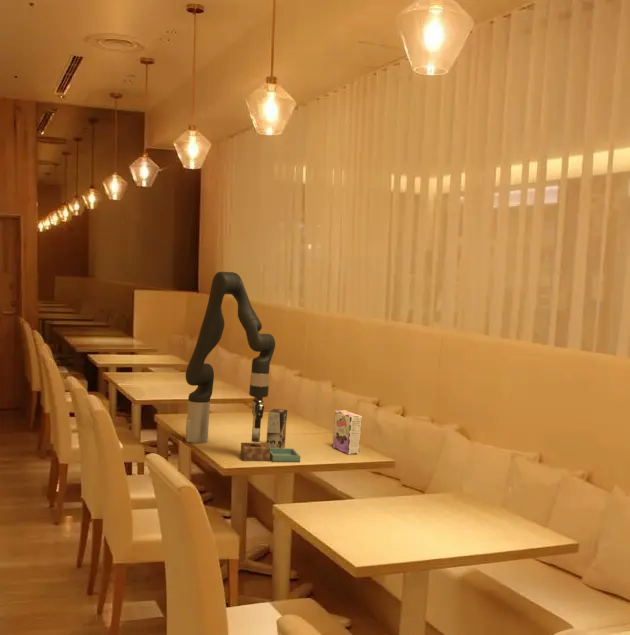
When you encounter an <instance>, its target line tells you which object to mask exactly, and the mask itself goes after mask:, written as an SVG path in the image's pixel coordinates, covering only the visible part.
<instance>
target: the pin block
mask: <svg viewBox="0 0 630 635" xmlns="http://www.w3.org/2000/svg"><path fill="white" fill-rule="evenodd" d="M240 457H241V458H242V460H243V461H244V462H270V461H271V459H270V448H269V446H268V445H267V444H266V442H240Z"/></svg>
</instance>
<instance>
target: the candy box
mask: <svg viewBox="0 0 630 635" xmlns="http://www.w3.org/2000/svg"><path fill="white" fill-rule="evenodd" d="M362 418H363V415H359V414H356V413H354V412H350V411H348V410H347V409H346V410H343V409H342V410H334V421H333V422H334V424H333V434H332V435H333V436H332V448H333V449H335V450H337V451H340V452H341V453H344V454H345V453H346V454H345V455H349V454H353V455H360V445H361V444H360V443H361V434H362V433H361V432H362Z"/></svg>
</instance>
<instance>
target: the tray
mask: <svg viewBox="0 0 630 635" xmlns="http://www.w3.org/2000/svg"><path fill="white" fill-rule="evenodd" d="M270 461H271V462H272V463H301V455H300V454H299V453H298V452H297V451H296V450H295V449H294V448H270Z"/></svg>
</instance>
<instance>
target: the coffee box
mask: <svg viewBox="0 0 630 635" xmlns="http://www.w3.org/2000/svg"><path fill="white" fill-rule="evenodd" d="M287 420H288V410H287V409H282V408H273V409H271V410H269V411H268V414H267V428H266V430H267V431H266V442H265V443H266V444H267V445H268V446H269V448H283V449H285V447H286V437H287V433H286V432H287Z"/></svg>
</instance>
